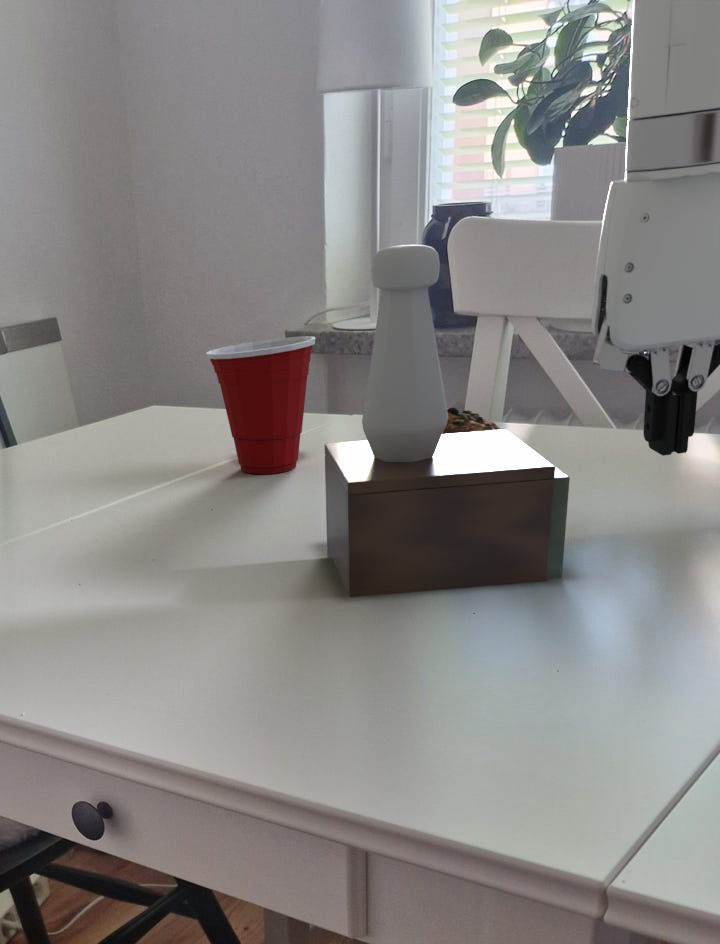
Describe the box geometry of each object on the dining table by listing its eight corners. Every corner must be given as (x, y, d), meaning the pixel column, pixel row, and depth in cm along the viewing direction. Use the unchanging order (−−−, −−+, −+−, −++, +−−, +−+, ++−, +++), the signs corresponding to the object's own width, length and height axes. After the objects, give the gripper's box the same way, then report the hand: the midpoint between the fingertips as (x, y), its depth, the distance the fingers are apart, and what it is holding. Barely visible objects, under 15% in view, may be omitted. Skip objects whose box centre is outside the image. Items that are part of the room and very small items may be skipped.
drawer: (533, 532, 90) (539, 440, 86) (579, 576, 80) (588, 475, 76) (357, 546, 89) (356, 455, 86) (381, 592, 80) (381, 491, 76)
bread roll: (469, 464, 113) (466, 410, 111) (376, 470, 120) (371, 418, 118) (526, 446, 120) (524, 395, 118) (435, 452, 127) (431, 404, 125)
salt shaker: (464, 454, 80) (471, 241, 73) (401, 469, 77) (402, 250, 71) (407, 443, 84) (409, 241, 78) (346, 457, 82) (342, 249, 75)
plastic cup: (253, 452, 125) (246, 331, 119) (339, 460, 119) (337, 333, 113) (192, 475, 118) (182, 347, 112) (281, 484, 112) (275, 350, 106)
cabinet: (500, 544, 91) (506, 429, 86) (546, 594, 80) (555, 466, 75) (327, 558, 90) (324, 443, 86) (349, 610, 80) (347, 482, 75)
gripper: (781, 132, 75) (749, 425, 85) (552, 163, 76) (546, 452, 85) (839, 129, 69) (798, 447, 78) (588, 163, 69) (577, 476, 79)
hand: (667, 449), depth 82 cm, fingers closed
